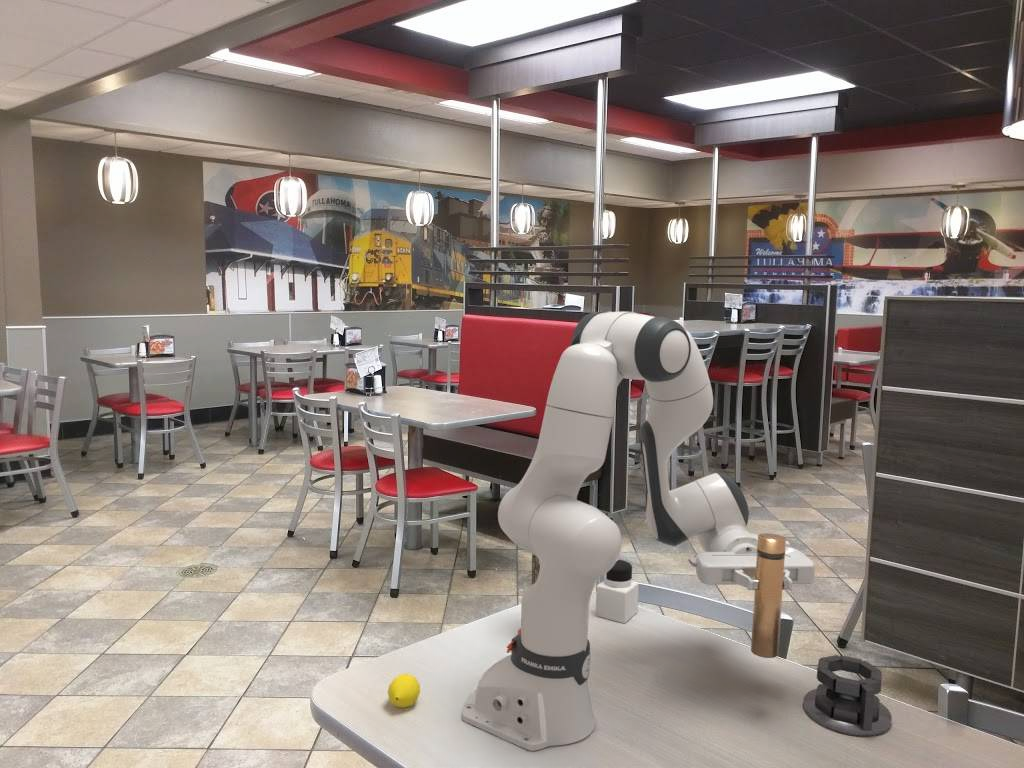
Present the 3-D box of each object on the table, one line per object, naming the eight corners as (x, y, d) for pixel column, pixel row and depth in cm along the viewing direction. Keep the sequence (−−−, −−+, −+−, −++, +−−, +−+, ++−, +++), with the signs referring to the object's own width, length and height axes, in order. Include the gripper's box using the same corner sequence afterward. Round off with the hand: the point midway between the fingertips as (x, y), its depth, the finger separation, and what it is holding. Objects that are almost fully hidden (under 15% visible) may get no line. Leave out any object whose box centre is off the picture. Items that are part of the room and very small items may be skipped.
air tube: (748, 654, 132) (755, 539, 129) (753, 643, 136) (760, 531, 133) (776, 660, 130) (784, 543, 127) (779, 649, 134) (787, 536, 131)
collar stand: (798, 723, 132) (801, 678, 131) (807, 685, 145) (810, 644, 144) (890, 745, 126) (894, 698, 125) (891, 704, 139) (894, 661, 138)
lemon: (396, 696, 140) (397, 666, 140) (425, 700, 139) (426, 670, 139) (380, 712, 133) (382, 680, 133) (410, 716, 132) (412, 684, 132)
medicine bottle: (638, 612, 176) (639, 561, 174) (624, 624, 170) (626, 570, 168) (609, 605, 179) (610, 554, 178) (595, 616, 173) (596, 564, 172)
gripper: (686, 540, 143) (710, 567, 129) (795, 539, 144) (831, 567, 131) (684, 573, 144) (708, 604, 130) (793, 572, 145) (828, 603, 131)
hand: (771, 585), depth 130 cm, fingers closed on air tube, 4 cm apart
